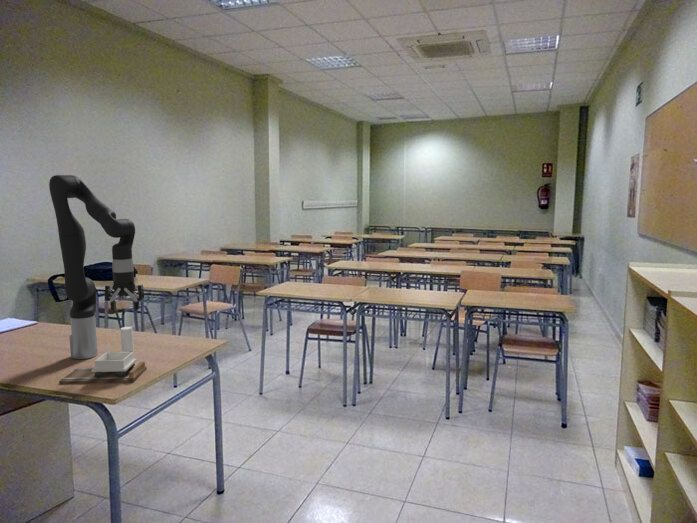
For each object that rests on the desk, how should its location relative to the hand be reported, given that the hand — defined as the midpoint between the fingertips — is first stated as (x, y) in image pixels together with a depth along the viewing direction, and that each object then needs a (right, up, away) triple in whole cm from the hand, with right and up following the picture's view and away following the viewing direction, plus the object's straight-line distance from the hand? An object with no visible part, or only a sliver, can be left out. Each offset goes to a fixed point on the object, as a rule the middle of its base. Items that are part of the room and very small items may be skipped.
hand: (125, 310), depth 197 cm
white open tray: (+1, -22, -10) cm, 24 cm away
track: (-3, -24, -10) cm, 26 cm away
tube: (0, -22, +3) cm, 22 cm away
